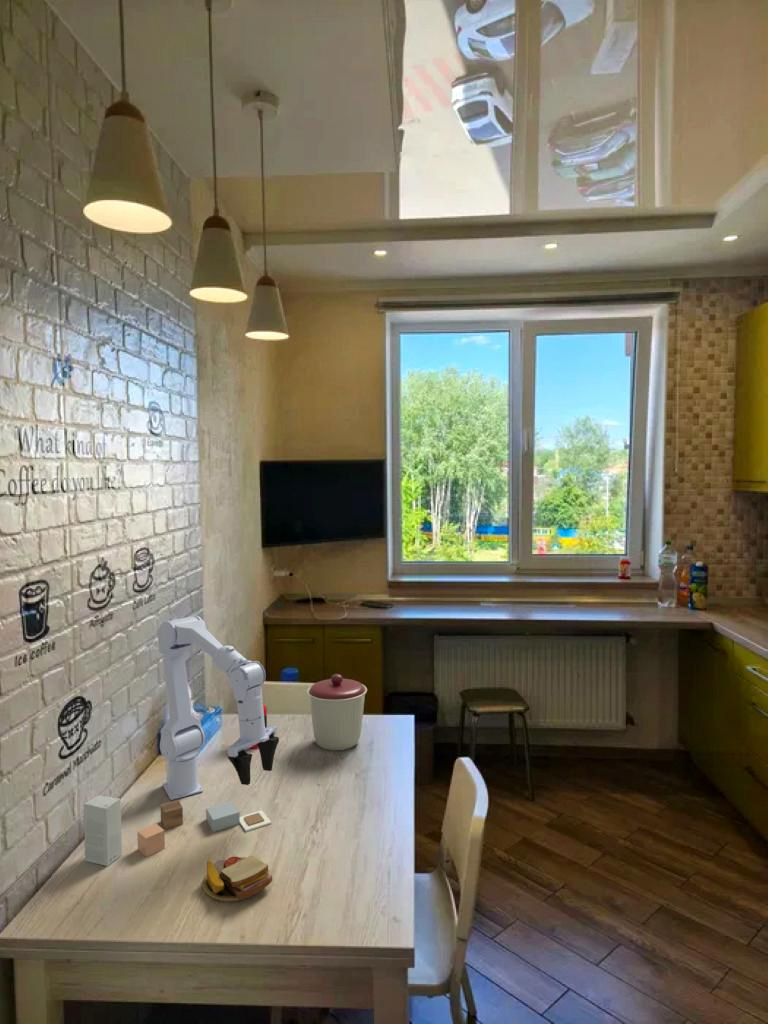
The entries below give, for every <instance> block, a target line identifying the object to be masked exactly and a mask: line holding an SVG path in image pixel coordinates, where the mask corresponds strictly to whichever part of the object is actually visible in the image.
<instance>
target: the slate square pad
mask: <svg viewBox="0 0 768 1024" xmlns="http://www.w3.org/2000/svg"><path fill="white" fill-rule="evenodd" d="M240 813H241V812H240V811H239V809H238V808H237V806H236V805H235V804H234V802H233V801H232V800H229V801H225V802H222V803H219V804H214V805H212V806H209V807H205V820H206V821H207V824H208V825H209V828H211V830H212V832H214V833H215V832H218V831H221V830H223V829H228V828H231V827H233V826H236V825H237V826H238V825H241V824H240V817H241V814H240Z"/></svg>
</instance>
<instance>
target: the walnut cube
mask: <svg viewBox="0 0 768 1024" xmlns="http://www.w3.org/2000/svg"><path fill="white" fill-rule="evenodd" d="M183 809H184V808H183V805H182V804H181V802H180V800H179V799H174V800H171V801H169V802H164V803H162V804H160V823H161V824H162V827H163V830H168V829H171V828H175V827H178V826H180V825H181V826H182V825H184V820H183V819H184V818H183V817H184V814H183Z"/></svg>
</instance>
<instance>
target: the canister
mask: <svg viewBox="0 0 768 1024" xmlns="http://www.w3.org/2000/svg"><path fill="white" fill-rule="evenodd" d="M367 692H368V688H367V687H366V685H364V684H363V683H361V682H360V681H357V680H354V679H349V678H343V676H342V675H341V673H340V674H339V673H335V674H332V675H331V678H329V679H323V680H320V681H317V682H315V683H314V684H313V685H310V686H309V687H308V688H307V689H306V694H307V696H308V697H309V707H310V714H311V723H312V724H311V725H312V729H313V736H314V740H315V742H316V744H317V746H318V747H320V748H321V749H324V750H328V751H335V752H336V751H345V750H348V749H351V748H354V746H356V745H357V744H358V743H359V741H360V738H361V733H362V728H363V717H364V707H365V697H366V694H367Z"/></svg>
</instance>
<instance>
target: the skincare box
mask: <svg viewBox="0 0 768 1024" xmlns="http://www.w3.org/2000/svg"><path fill="white" fill-rule="evenodd" d="M121 803H122V801H121V798H119V797H118V798H117V797H111V796H106V795H101V794H98V795H96V796H95V797H93V798H91V799H89V800H88V801H86V802H84V804H83V825H84V826H83V827H84V829H83V830H84V833H83V834H84V860H85V862H89V863H92V864H97V865H102V866H105V867H107V866H108V867H109V866H110V865H111V864H112V863H114V862H115V861H116V860H117V859H118V858H120V857H121V856H122V855H123V844H122V842H123V841H122V807H121V806H122V804H121Z"/></svg>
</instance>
